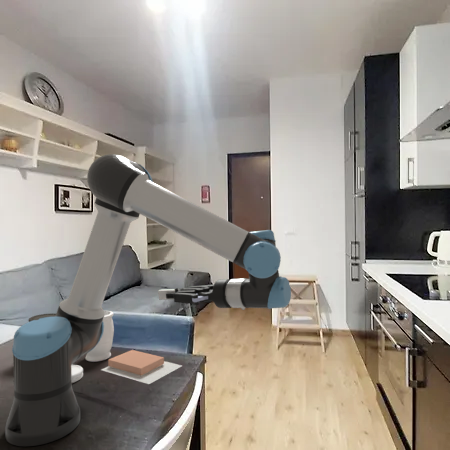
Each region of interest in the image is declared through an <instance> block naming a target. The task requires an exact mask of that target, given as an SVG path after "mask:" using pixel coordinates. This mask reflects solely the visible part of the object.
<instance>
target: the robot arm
mask: <svg viewBox="0 0 450 450" xmlns="http://www.w3.org/2000/svg"><path fill="white" fill-rule="evenodd" d="M87 171H88V172H87V176H86V177H87V178H86V180H87V185H88V188H89V190H90V192H91V194H92V195H94V196H95V200H94V204H93V205H94V207H95V209H96V210H97V214H96V217H95V220H94V223H93V226H92V228H91V230H90V231H91V232H90V234H89V236H88V240H87V243H86V246H85V249H84V252H83V254H82V257H81V259H80V263H79V267H78V269H77V272H76V275H75V276H74V277H75V278H74V280H73V283H72V287H71V290H70V292H69V295H68V297H67V298H66V299H64V300H61V301H60V302H59V305H58V308H57V310H56V312H55V314H56V316H55V317H45V318H40V319H39V320H33V321H30V322H29V321H28V322H26V323H24V324H22V325H21V326H20V327H18V328H17V329H16V331H15V332H14V335H13V342H12V343H13V345H12V348H11V351H12V354H13V355H12V356H13V357H12V358H13V361H12V362H13V363H12V365H13V395H14V396H13V402H12V404H11V408H10V411H9V414H8V417H7V419H6V423H5V428H4V429H5V439H6V442H8V443H9V444H11V445H13V446H17V447H35V446H36V447H37V446H40V445H41V446H42V445H45V444H49V443H53V442H55V441H57V440H59V439H62V438H63V437H65V436H67V435H68V434H70V433H72V432H73V431H74V430H75V429H76V428H77V427H78V426H79V424H80V423H81V407H80V405H79V402H78V400H77V397H76V395H75V392H74V390H73V386H72V384H73V383H72V380H71V378H72V376H71V365H74V364H75V363H76V362H77V361H78V360H80V359H82V358H83V357H84V356H86V355H87V353H88V352H90V351H91V350H92V349H94V348H95V346H96V345H97V344H98V342H99V341H100V340H101V338H102V335H103V332H104V323H103V322H102V321H103V318H104V315H105V312H104V311H105V310H104V309H103V307H102V305H103V303H104V300H105V298H106V295H107V292H108V288H109V285H110V283H111V280H112V277H113V274H114V270H115V268H116V265H117V263H118V260H119V257H120V254H121V251H122V248H123V245H124V242H125V239H126V237H127V234H128V232H129V231H128V230H129V228H130V225H131V223H132V222H133V221H137V220H138V219H139V218H140V217H139V216H140V215H141V216H143V217H145V218H147V219H149V220H150V221H152V222H155V223H157V224H158V225H161V226H162V227H164V228H166V229H168V230H170V231H172V232H174V233H176V234H178V235H180V236H182V237H183V238H185V239H187V240H189V241H191V242H193V243H195V244H197V245H198V246H200V247H203V248H205V249H207V250H208V251H210V252H212V253H214V254H216V255H218V256H220V257H222V258H224V259H225V260H228V261H229V262H232V263H233V264H235V265H237V266H238V267H240V268H243V269H244V270H246V271H247V272H248V278H245V277H243V278H231V279H230V278H228V279H227V278H226V279H225V278H223V279H217V280H216V281H215V282H214V284H206V285H205V284H204V285H193V286H186V287H184V288H183V287H181V288H178V287H177V288H170V289H169V288H168V289H167V288H165V289H164V288H163V289H159V290H157V293H158V299H159V300H160V301H161V300H162V301H164V300H165V301H166V300H168V301H169V300H171V301H172V300H173V301H174V303H179V304H191V305H194V306H199V305H200V303H205V304H209V303H212V302H213V303H214V305H215V306H216V307H217V308H219V309H231V308H233V309H241V310H243V311H244V310H246V309H268V310H271V309H281V308H282V309H283V308H287V306H288V305H289V304H290V303H291V299H292V297H291V296H292V289H291V285H290V281H289V279H288V278H287V277H284V276H280V273H279V272H280V271H279V268H280V265H281V254H280V250H279V248H278V247H276V241H277V240H276V238H275V232H274V231H273V230H272V229H266V230H257V231H255V230H254V231H248V230H246V229H244V228H242V227H240V226H238V225H236V224H235V223H232V222H230V221H228V220H226V219H224V218H222V217H220V216H219V215H217V214H214V213H213V212H211V211H209V210H207V209H205V208H204V207H201V206H199V205H197V204H196V203H194V202H192V201H190V200H188V199H186V198H184V197H183V196H181V195H179V194H176V193H174V192H173V191H170V190H169V189H167V188H164V187H163V186H161V185H159V184H157V183H155V182H154V181H153V178H152V176H151V174H150V173H149V171H148V170H147V169H146V168H145V167H144V166H143V165H141V164H140V163H138V162H135V161H133V160H130V159H128V158H127V157H125V156H123V155H120V154H117V153H116V154H115V153H112V154H105V155H101V156H99V157H98V158H96V159H95V160H94V161H93V162H92V163H91V164H90V166H89V168H88V170H87Z"/></svg>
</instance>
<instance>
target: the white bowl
mask: <svg viewBox="0 0 450 450" xmlns="http://www.w3.org/2000/svg"><path fill="white" fill-rule="evenodd" d="M71 376H72V378H71V380H72V384H73V383H77V382H78V381H79V380H81V379H82V378H83V377H84V368H83V367H82V366H81V365H78V364H72V365H71Z"/></svg>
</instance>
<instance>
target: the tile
mask: <svg viewBox="0 0 450 450" xmlns="http://www.w3.org/2000/svg"><path fill="white" fill-rule="evenodd" d="M164 361H165V356H159V355H155V354H151V353H148V352H143V351H138V350H134V349H131V350H128V351H126V352H124V353H121V354H118V355H116V356H113V357H110V358H108V363H107V365H108V366H110V367H111V368H114V369H118V370H121V371H125V372H128V373H132V374H135V375H139V376H143V375H145V374H146V373H148V372H150V371H152V370H154V369H156V368H158V367H160V366H162V365H163V364H164ZM108 366H107V367H108Z"/></svg>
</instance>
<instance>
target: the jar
mask: <svg viewBox="0 0 450 450" xmlns="http://www.w3.org/2000/svg"><path fill="white" fill-rule="evenodd" d="M104 312H105V315H104V318H103V321H102V322H103V323H104V332H103V335H102V338H101V340H100V341H99V342H98V344H97V345H96V346H95V348H94V349H92V350H91V351H90V352H88V353H87V354H85V357H84V359H85V361H88V362H93V363H94V362H102V361H105V360H107V359H108V360H109V359H110V358H111V356H112V353H111V349H112V347H113V341H114V340H113V339H114V333H115V327H114V320H113V316H114V312H113V311H112V310H104Z"/></svg>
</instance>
